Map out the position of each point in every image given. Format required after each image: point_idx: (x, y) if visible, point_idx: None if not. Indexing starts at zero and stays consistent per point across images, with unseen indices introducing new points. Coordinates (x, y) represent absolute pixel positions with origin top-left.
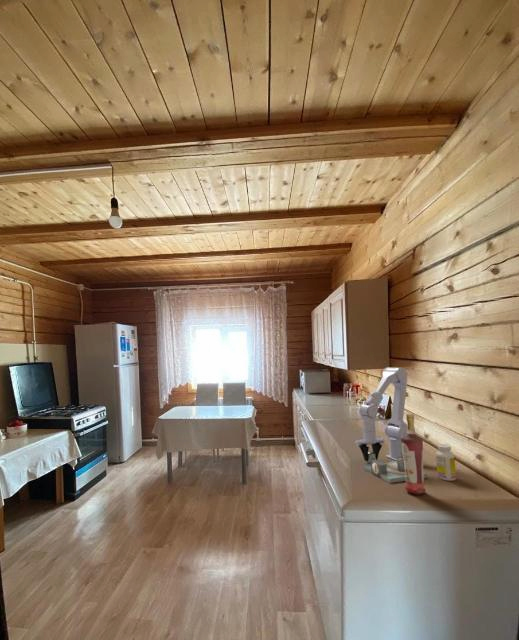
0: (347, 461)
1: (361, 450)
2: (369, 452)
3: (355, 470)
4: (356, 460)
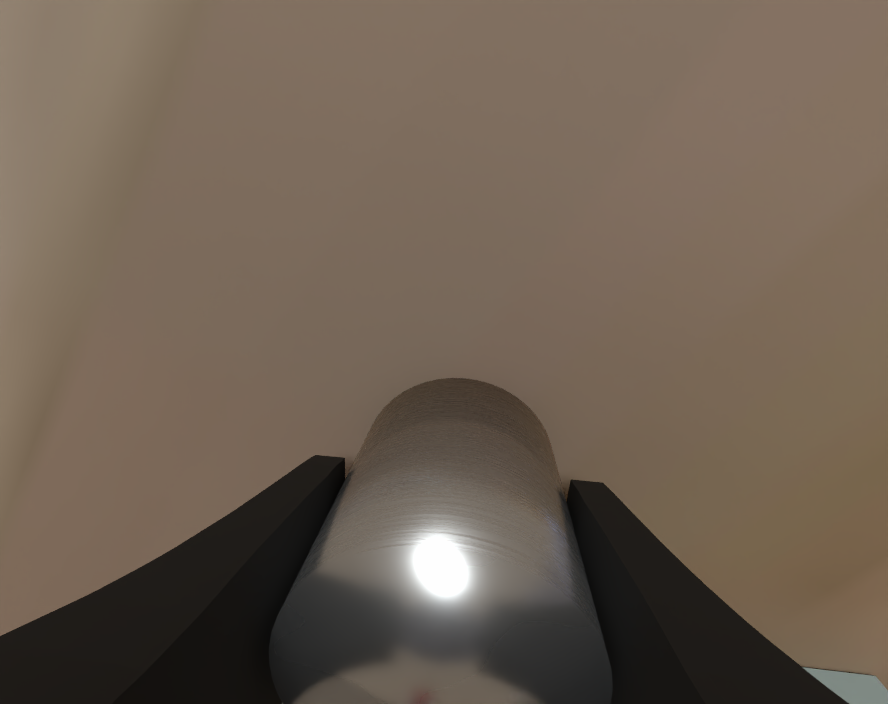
0: (47, 133)
1: (60, 632)
2: (413, 658)
3: (46, 592)
4: (285, 150)
